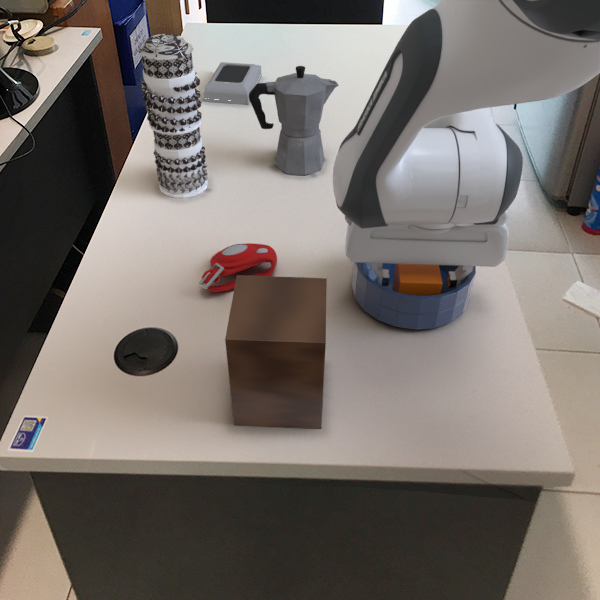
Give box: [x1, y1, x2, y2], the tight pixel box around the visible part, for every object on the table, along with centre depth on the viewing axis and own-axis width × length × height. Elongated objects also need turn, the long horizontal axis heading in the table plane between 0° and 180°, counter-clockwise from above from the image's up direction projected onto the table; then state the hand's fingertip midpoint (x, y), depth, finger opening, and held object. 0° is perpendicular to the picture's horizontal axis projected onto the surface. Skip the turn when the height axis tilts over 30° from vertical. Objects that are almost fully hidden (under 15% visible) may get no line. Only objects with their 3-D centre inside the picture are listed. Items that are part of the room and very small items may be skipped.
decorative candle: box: [138, 33, 209, 199], centre depth 102 cm, size 9×9×25 cm
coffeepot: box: [249, 65, 340, 176], centre depth 110 cm, size 15×9×18 cm, turn 102°
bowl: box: [351, 262, 477, 330], centre depth 87 cm, size 16×16×6 cm
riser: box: [224, 274, 328, 430], centre depth 71 cm, size 10×10×14 cm
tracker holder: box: [199, 243, 278, 293], centre depth 91 cm, size 12×4×10 cm
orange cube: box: [393, 264, 442, 296], centre depth 85 cm, size 6×6×6 cm
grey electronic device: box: [203, 61, 262, 106], centre depth 139 cm, size 10×4×15 cm
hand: (417, 284), depth 85 cm, fingers open, 8 cm apart
